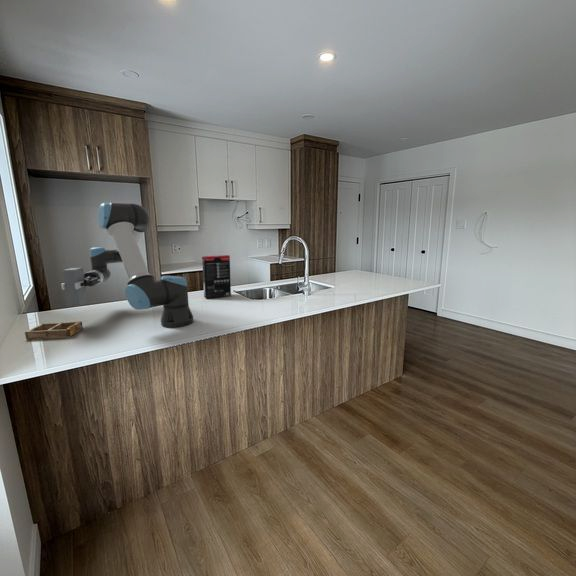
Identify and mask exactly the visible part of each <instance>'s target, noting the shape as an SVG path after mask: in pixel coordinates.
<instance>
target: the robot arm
mask: <svg viewBox="0 0 576 576" xmlns="http://www.w3.org/2000/svg"><path fill="white" fill-rule="evenodd" d="M97 221H98V225H99V227H100V228H101V229H103V230H105V229H106V231H107V234H108V235H110V236H112V237H113V240H114V243H115V245H116V249H105V247H103V246H100V247H99V246H96V247H90V248H89V259H90V265H91V270H90V271H87V272H85V273H84V282H83V281H80V282H77V283H75V288H76V289H79V288H81V287H84V286H86V287H94V286H98V284H101V283H104V282H106V281H108V280H110V279H111V277H112V272H111V271H110V269H109V268H108V264H118V263H119V264H120V263H122V264H123V266H124V269H125V271H126V274H127V278H128V279H129V280H128V281H127V283H126V284H127V286H126V287H125V290H124V292H125V294H126V295H125V297H126V300H127V302H128V304H129V305H130V306H131V308H132V309H134V310H135V311H136V310H138V311H140V310H147V309H150V308H157V307H161V306H162V307H163V311H162V314H161V318H160V325H161V326H162V327H165V328H179V327H185V326H189V325H191V324H193V323H194V315H193V313H192V311H191V309H190V305H189V294H188V293H189V292H188V282H187V279H186V278H185V277H183V276H177V275H162V276H160V279H159V280H156V279H155V276H154V275H153V274H151V273H149V270H148V267H147V265H146V262H145V259H144V257H143V255H142V253H141V250H140V247H139V245H138V243H139V241H140V239H141V237H142V235H143V234H144V233H146V232H147V231H148V229H149V228H150V225H151V217H150V214H149V213H148V211H147V210H146V209H145V207H143V206H142V205H140V204H137V203H125V202H124V203H119V202H118V203H115V202H103V203H101V204H100V205H99V208H98V212H97ZM60 286H61V290H62V291H63V290H64V291H65V290H66V289H65V283H64V282H62V283H61V284H60Z"/></svg>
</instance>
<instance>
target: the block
mask: <svg viewBox="0 0 576 576" xmlns="http://www.w3.org/2000/svg"><path fill="white" fill-rule="evenodd" d="M84 274H85V273H84V269H83V267H70V268H66V269H62V276H63V283H65V289H64V290H65V293H66V294H65V295H66V300H67V307H76V306H77V307H79V306H83V305H84V304H86V303H88V294H87V288H86V287H87V286H84V287H81V288H79V289H76V288H75V283H77V282H80V281H83V282H84Z"/></svg>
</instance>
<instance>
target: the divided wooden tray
mask: <svg viewBox="0 0 576 576" xmlns="http://www.w3.org/2000/svg"><path fill="white" fill-rule="evenodd" d="M83 328H84V327H83V322H82V321H65V322H63V321H61V322H49V323H48V322H47V323H40V324H38V325H36V326H34V327H33V328H31V329H29V330H26V331H25V332H24V335H25V340H26V341H27V340H28V341H30V340H45V339H62V338H64V339H65V338H71V337H72V336H73V335H75V334H76V333H78V332H80V331H81V330H82V329H83Z"/></svg>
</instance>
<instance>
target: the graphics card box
mask: <svg viewBox="0 0 576 576" xmlns="http://www.w3.org/2000/svg"><path fill="white" fill-rule="evenodd" d="M201 261H202V263H201V264H202V277H203V278H202V279H203V280H202V282H203V297H204V298H205V299H206V300H207V299H214V298H217V299H218V298H225V297H231V296H232V291H231V290H232V287H231V256H230V255H229V254H226V255H209V256H208V255H206V256H201Z"/></svg>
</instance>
